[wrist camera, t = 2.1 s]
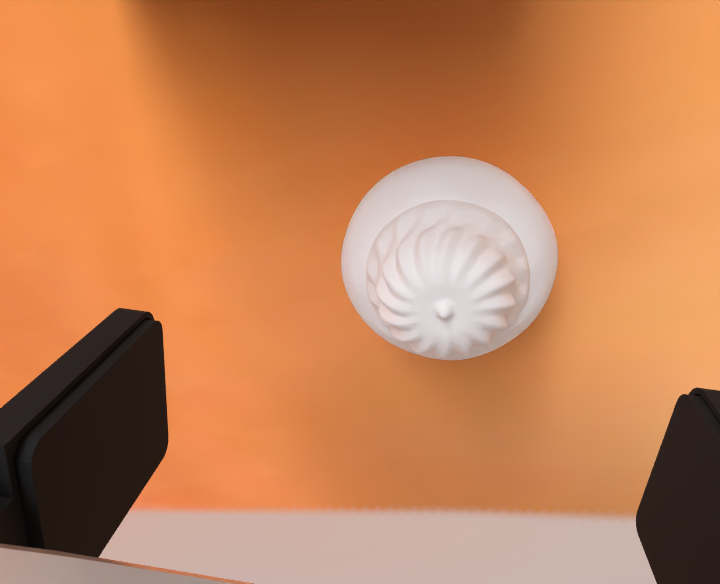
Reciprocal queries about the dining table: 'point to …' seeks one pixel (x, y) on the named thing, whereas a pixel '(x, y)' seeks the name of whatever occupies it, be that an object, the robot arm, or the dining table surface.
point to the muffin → (449, 258)
